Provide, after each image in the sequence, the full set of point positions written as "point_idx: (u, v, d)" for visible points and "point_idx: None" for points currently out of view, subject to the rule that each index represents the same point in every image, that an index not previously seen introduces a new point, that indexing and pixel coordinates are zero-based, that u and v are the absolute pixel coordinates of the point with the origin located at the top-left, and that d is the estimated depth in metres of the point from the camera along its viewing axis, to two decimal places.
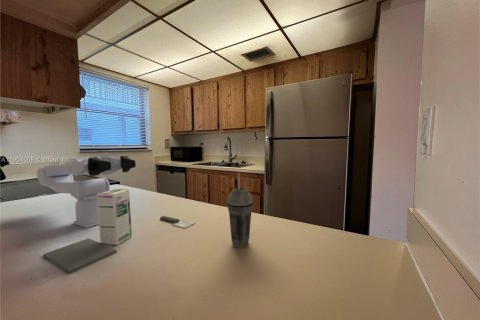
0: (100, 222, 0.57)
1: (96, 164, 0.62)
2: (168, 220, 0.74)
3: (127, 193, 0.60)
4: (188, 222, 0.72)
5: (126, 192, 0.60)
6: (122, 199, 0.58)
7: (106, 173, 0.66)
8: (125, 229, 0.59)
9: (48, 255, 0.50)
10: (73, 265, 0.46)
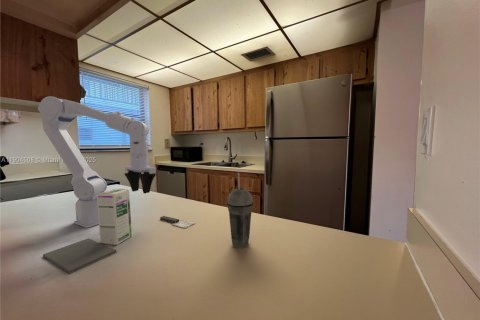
0: (100, 222, 0.57)
1: (148, 176, 0.73)
2: (168, 220, 0.74)
3: (127, 193, 0.60)
4: (188, 222, 0.72)
5: (126, 192, 0.60)
6: (122, 199, 0.58)
7: (133, 169, 0.72)
8: (125, 229, 0.59)
9: (48, 255, 0.50)
10: (73, 265, 0.46)
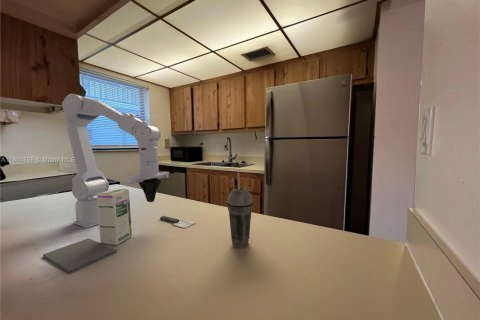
0: (100, 222, 0.57)
1: None
2: (168, 220, 0.74)
3: (127, 193, 0.60)
4: (188, 222, 0.72)
5: (126, 192, 0.60)
6: (122, 199, 0.58)
7: None
8: (125, 229, 0.59)
9: (48, 255, 0.50)
10: (73, 265, 0.46)
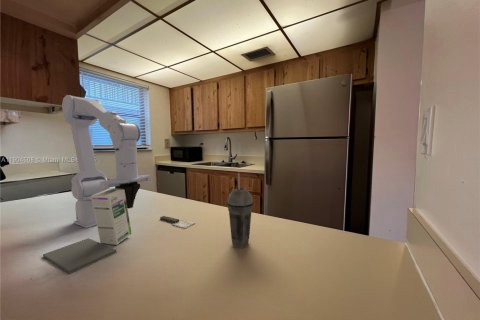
0: (98, 223, 0.56)
1: None
2: (168, 220, 0.74)
3: (122, 193, 0.58)
4: (188, 222, 0.72)
5: (121, 192, 0.58)
6: (117, 200, 0.57)
7: None
8: (124, 228, 0.59)
9: (48, 255, 0.50)
10: (73, 265, 0.46)
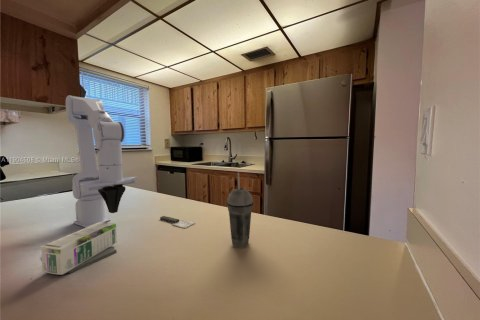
0: None
1: None
2: (168, 220, 0.74)
3: (65, 251, 0.43)
4: (188, 222, 0.72)
5: (63, 253, 0.43)
6: (72, 257, 0.44)
7: None
8: (107, 237, 0.53)
9: None
10: None
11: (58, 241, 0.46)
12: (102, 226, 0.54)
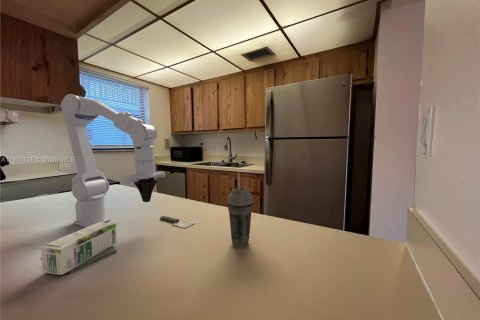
0: None
1: None
2: (168, 220, 0.74)
3: (65, 251, 0.43)
4: (188, 222, 0.72)
5: (63, 253, 0.43)
6: (72, 257, 0.44)
7: None
8: (107, 237, 0.53)
9: None
10: None
11: (58, 241, 0.46)
12: (102, 226, 0.54)
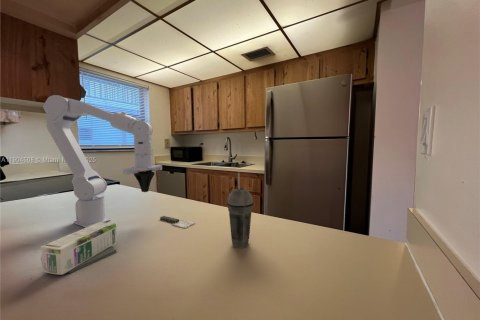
0: None
1: None
2: (168, 220, 0.74)
3: (65, 251, 0.43)
4: (188, 222, 0.72)
5: (63, 253, 0.43)
6: (72, 257, 0.44)
7: None
8: (107, 237, 0.53)
9: None
10: None
11: (58, 241, 0.46)
12: (102, 226, 0.54)
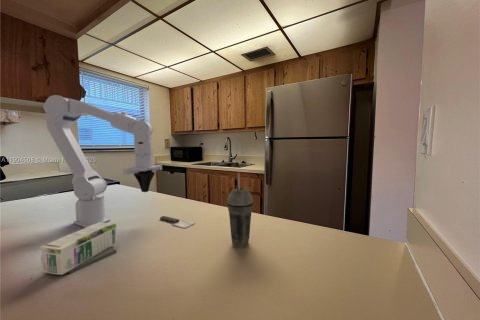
0: None
1: None
2: (168, 220, 0.74)
3: (65, 251, 0.43)
4: (188, 222, 0.72)
5: (63, 253, 0.43)
6: (72, 257, 0.44)
7: None
8: (107, 237, 0.53)
9: None
10: None
11: (58, 241, 0.46)
12: (102, 226, 0.54)
